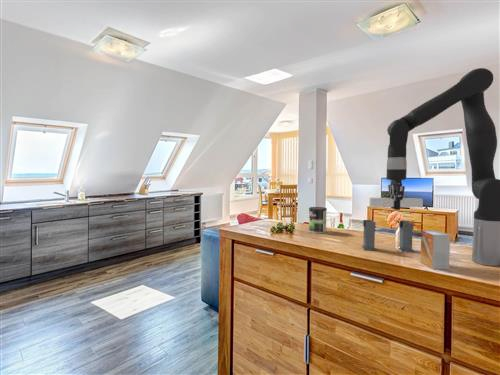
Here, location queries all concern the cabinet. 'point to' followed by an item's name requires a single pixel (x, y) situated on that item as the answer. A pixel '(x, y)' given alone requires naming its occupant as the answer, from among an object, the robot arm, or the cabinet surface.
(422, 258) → the small box
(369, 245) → the post far
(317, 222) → the coffee can
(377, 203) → the rail
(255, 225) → the cabinet surface
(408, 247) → the post near
